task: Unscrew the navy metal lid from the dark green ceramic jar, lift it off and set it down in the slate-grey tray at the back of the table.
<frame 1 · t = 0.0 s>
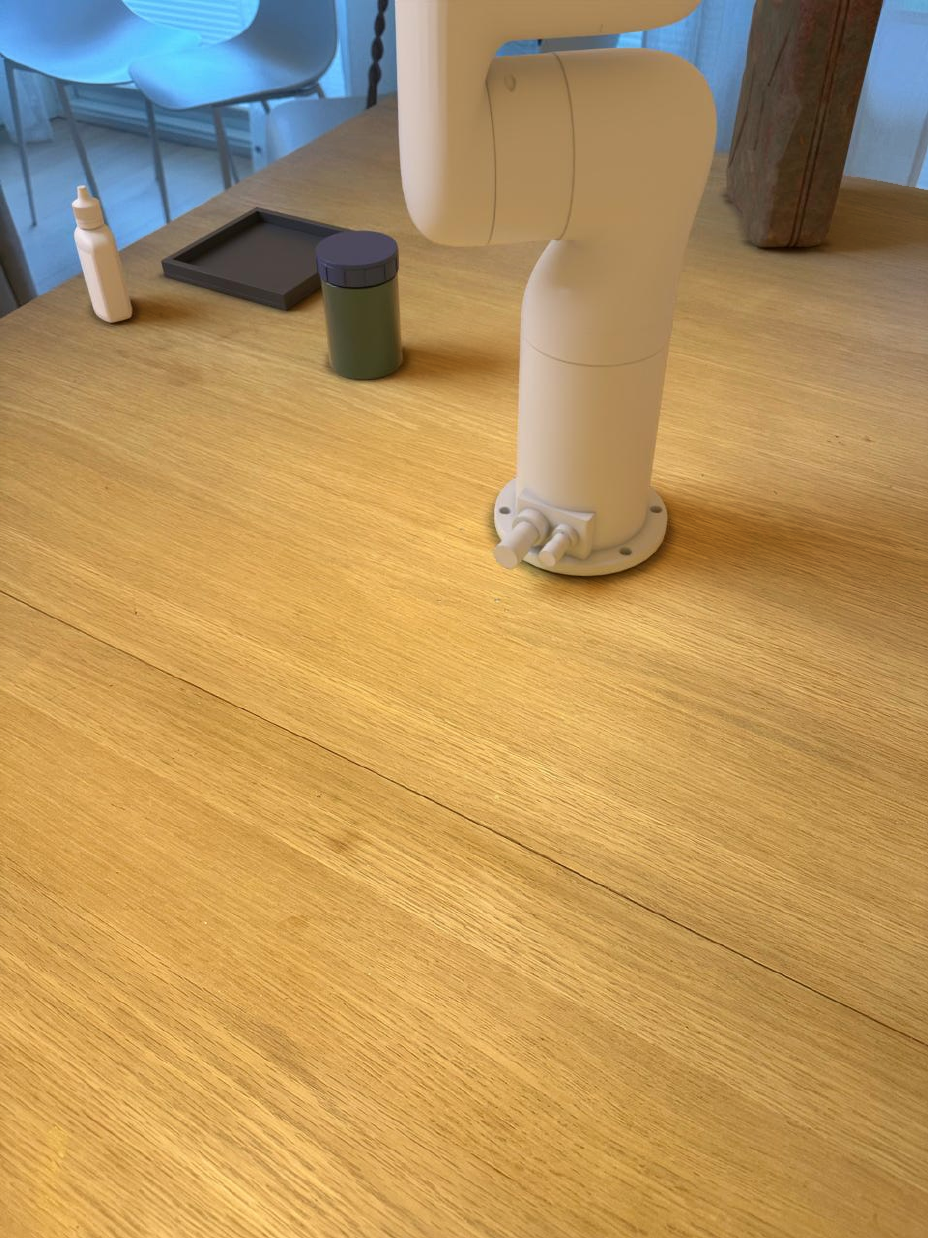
tray: (271, 263, 110), on the table
brown piece: (771, 219, 117), on the table
eye dropper bottle: (113, 312, 103), on the table
jar lid: (357, 251, 88), point 10 cm above the table, screwed on, not yet turned
jar: (366, 360, 95), on the table
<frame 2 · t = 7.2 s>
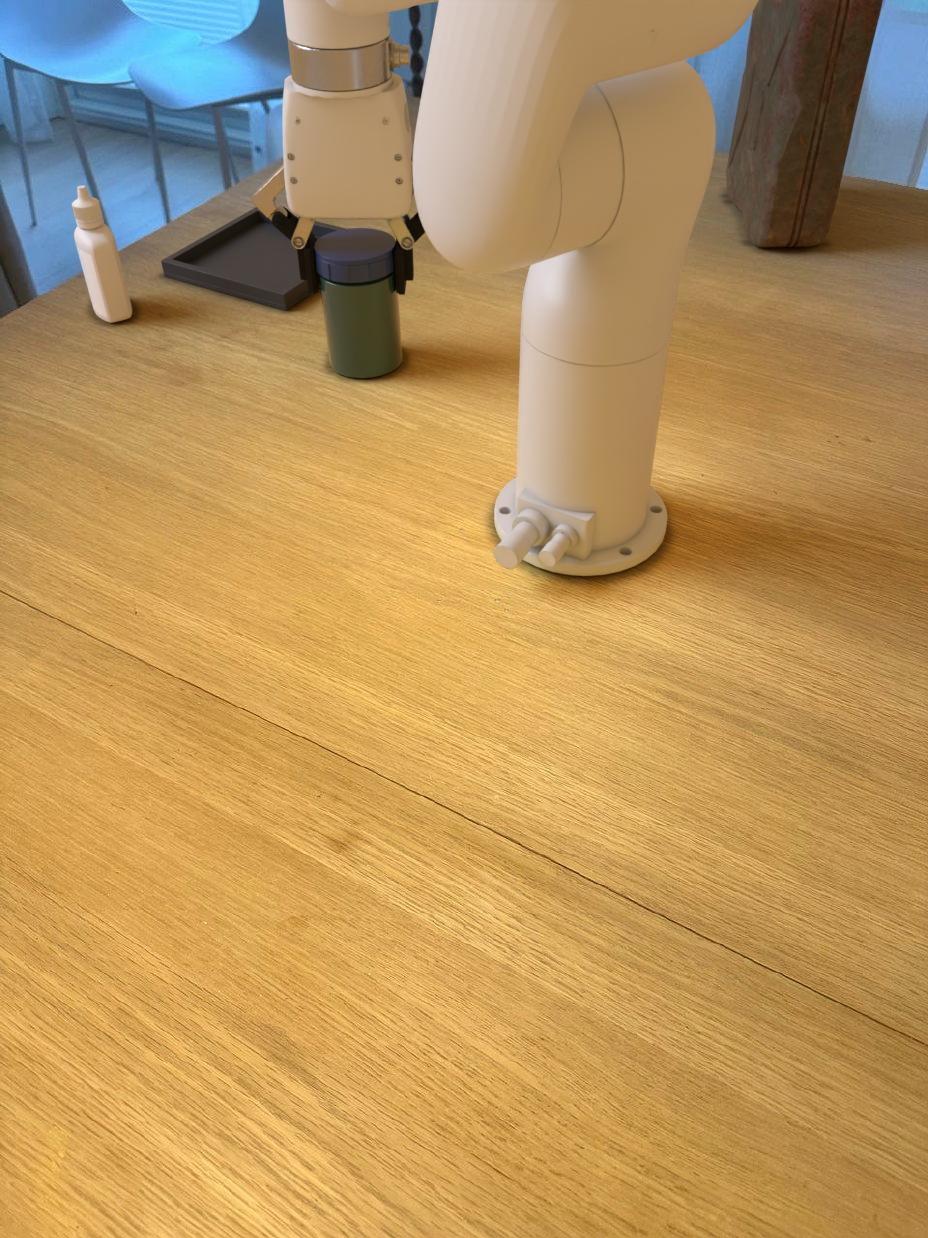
hand: (358, 285, 91), 7 cm above the table, tool pointing down, fingers closed on jar lid, 6 cm apart
jar lid: (355, 248, 88), point 10 cm above the table, turned 99° so far, risen 0.1 cm, still on its thread, touching gripper
jar: (366, 360, 95), on the table, touching gripper
everything else where it was.
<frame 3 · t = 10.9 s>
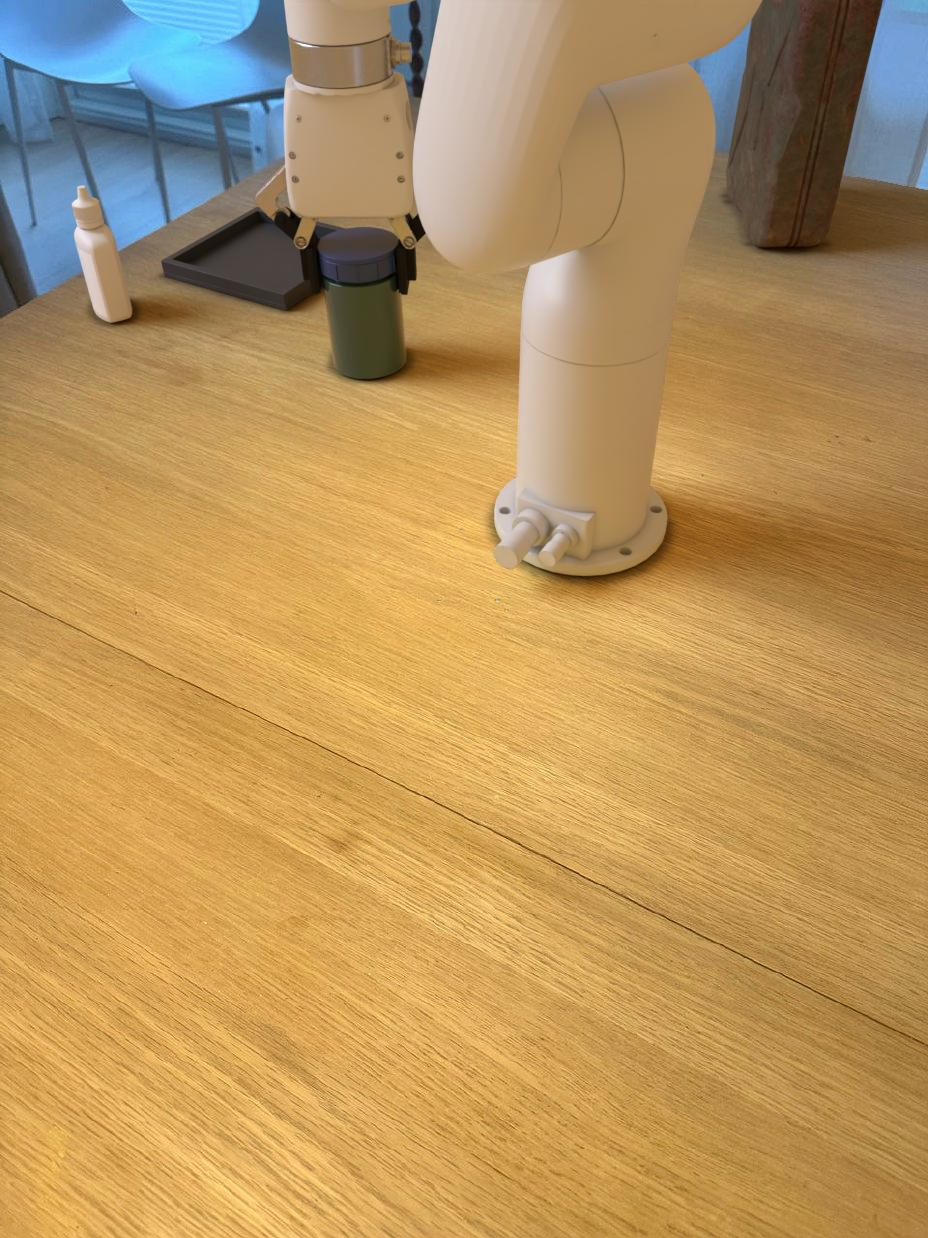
hand: (361, 285, 90), 7 cm above the table, tool pointing down, fingers closed on jar lid, 6 cm apart
jar lid: (358, 247, 88), point 11 cm above the table, turned 194° so far, risen 0.3 cm, still on its thread, touching gripper
everything else where it was.
when the fingers open (2 cm above the table, at t = 24.8 s): jar lid drops 3 cm, resting on tray.
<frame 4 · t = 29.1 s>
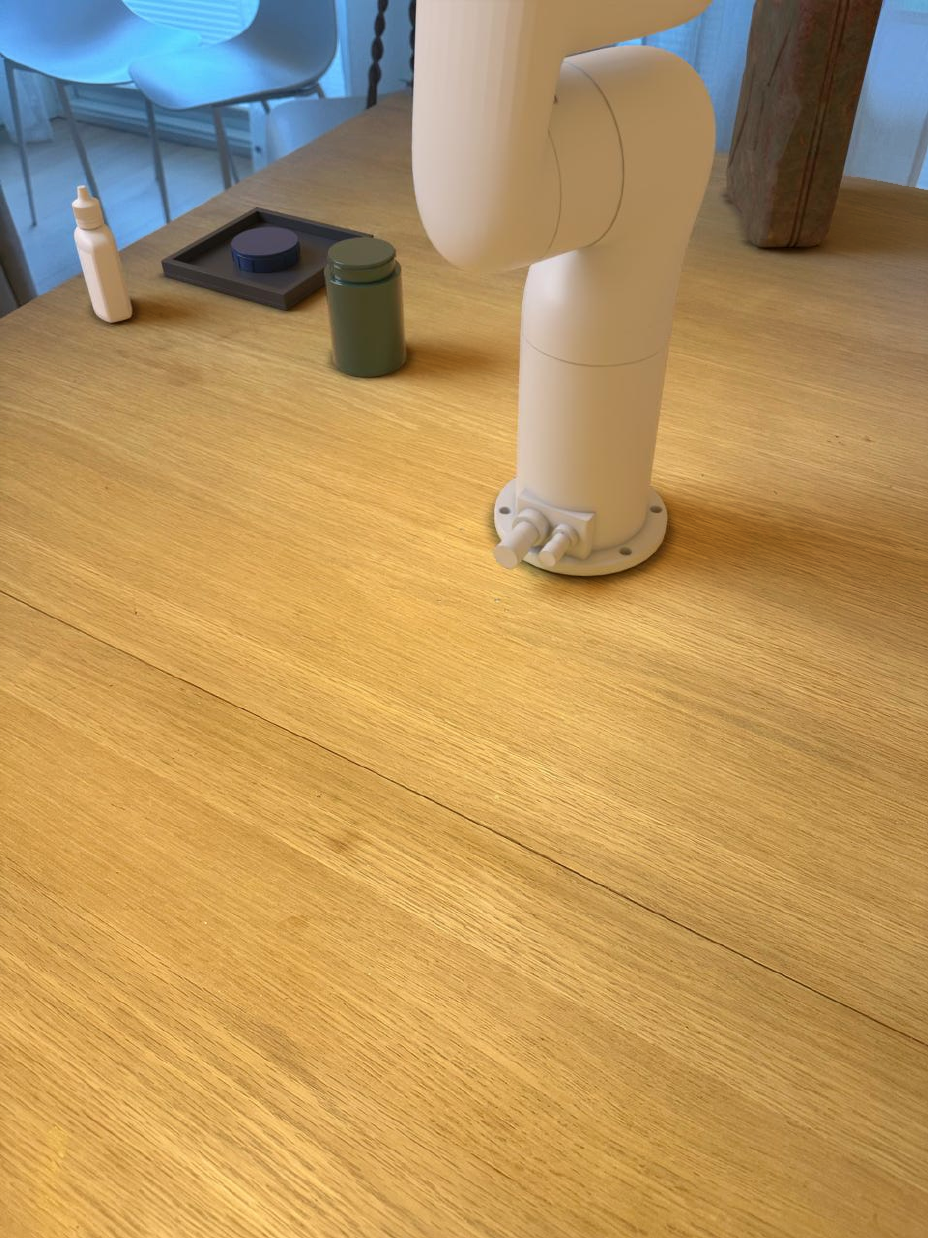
jar lid: (265, 244, 109), point 2 cm above the table, off its thread, touching tray
jar: (369, 358, 95), on the table
everything else where it was.
at the end: jar lid came off its thread; jar lid inside the target area in the tray (0.4 cm from its centre), point 2.0 cm above the tray's base; the gripper is holding nothing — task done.
